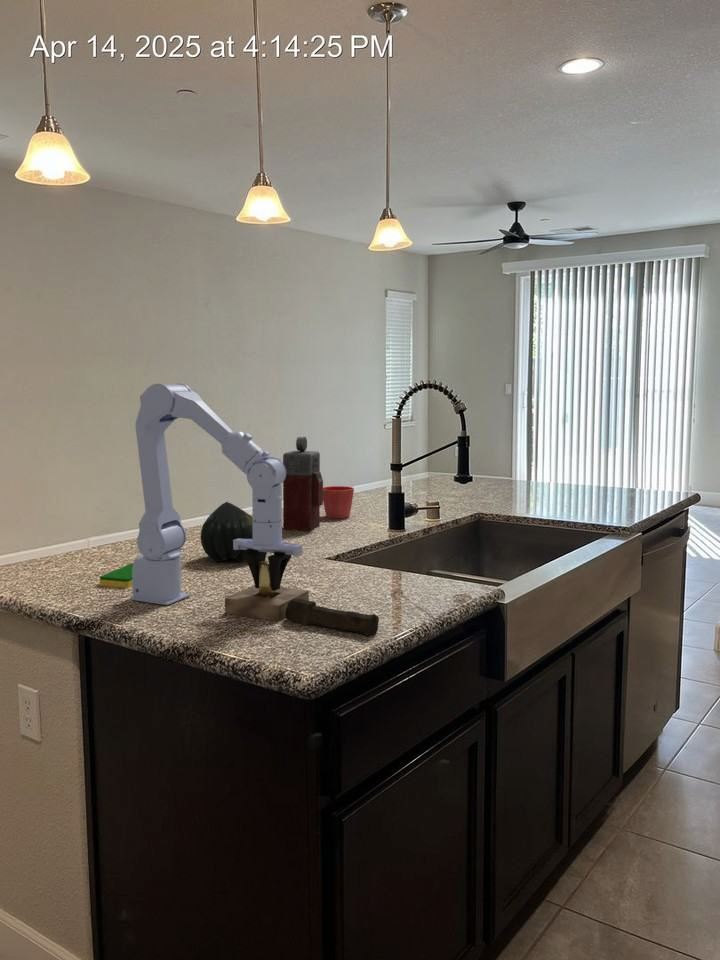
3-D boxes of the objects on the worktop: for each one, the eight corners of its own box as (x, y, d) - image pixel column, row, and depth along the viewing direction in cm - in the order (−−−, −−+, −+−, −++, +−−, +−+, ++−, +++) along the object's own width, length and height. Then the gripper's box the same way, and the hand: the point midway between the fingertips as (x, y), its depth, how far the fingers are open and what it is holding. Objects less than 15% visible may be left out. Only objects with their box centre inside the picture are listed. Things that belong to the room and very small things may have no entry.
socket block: (225, 613, 154) (224, 598, 153) (257, 598, 164) (257, 583, 164) (279, 621, 149) (278, 605, 148) (308, 605, 160) (308, 590, 159)
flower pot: (316, 515, 266) (316, 486, 265) (346, 513, 271) (346, 485, 270) (328, 520, 257) (328, 490, 255) (359, 518, 261) (359, 489, 260)
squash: (244, 547, 188) (256, 494, 197) (185, 546, 191) (199, 494, 200) (260, 575, 200) (271, 524, 208) (205, 574, 203) (217, 524, 211)
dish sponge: (98, 587, 173) (98, 576, 173) (132, 572, 187) (132, 562, 186) (127, 590, 172) (127, 579, 171) (159, 575, 185) (159, 564, 185)
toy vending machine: (318, 531, 237) (318, 438, 234) (282, 529, 240) (282, 437, 237) (326, 526, 246) (327, 436, 242) (292, 524, 249) (292, 435, 245)
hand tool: (380, 633, 143) (380, 608, 142) (369, 639, 139) (369, 614, 139) (294, 617, 152) (294, 594, 152) (282, 623, 149) (282, 599, 148)
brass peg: (255, 603, 156) (255, 563, 155) (265, 599, 158) (265, 560, 157) (268, 605, 154) (268, 565, 153) (278, 602, 157) (278, 562, 156)
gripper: (224, 520, 154) (225, 588, 155) (289, 526, 148) (290, 597, 150) (243, 515, 160) (244, 580, 162) (307, 520, 154) (307, 588, 156)
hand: (267, 588), depth 156 cm, fingers closed on brass peg, 3 cm apart
